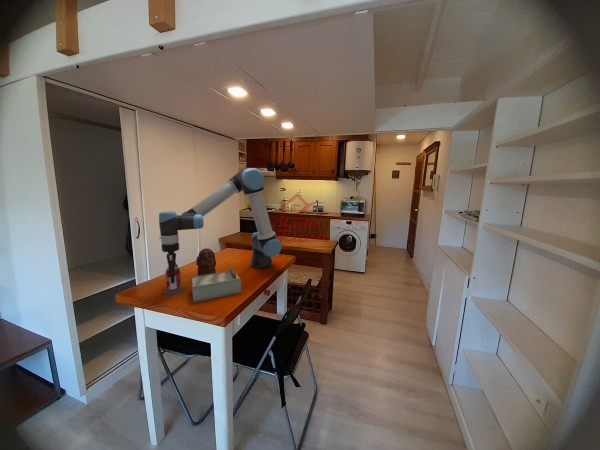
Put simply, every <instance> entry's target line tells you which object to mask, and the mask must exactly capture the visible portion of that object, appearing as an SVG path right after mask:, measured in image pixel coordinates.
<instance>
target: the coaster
mask: <svg viewBox="0 0 600 450" xmlns="http://www.w3.org/2000/svg"><path fill="white" fill-rule="evenodd" d="M184 291H185V287H184V286H182V285H181V288H180V290H178V291H176V292H170V291H168V290H167V288H166V289H165V290H164V295H167V296H173V295H177V294H181V293H182V292H184Z"/></svg>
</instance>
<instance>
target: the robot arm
mask: <svg viewBox="0 0 600 450" xmlns="http://www.w3.org/2000/svg"><path fill="white" fill-rule="evenodd" d="M264 183H265V178H264V175H263V173H262V171H260V170H259V169H257V168H255V167H253V168H252V167H250V168H245V169H240V170H239V171H238V172H237V173H236V174H234V175H233V176H232V177H231V178H229V179H228V180H227V183H225V184H223V186H221V187H220V188H218V189H217V190H215V191H214V192H213V193H211V194H210V195H208V196H206V198H203V199H202V200H201V201H200V202H198V203H196V204H195V205H194V206H193V207H191V208H190V209H188V210H187V211H184V212H182V214H179V215H178V214H177V212H176V211H173V210H172V211H161V212H159V214H158V225H159V232H160V236H159V240H160V241H161V251H162V252H163V253H166V261H167V265H168V267H167V268H169V276H167V277H169V280H170V290H171V289H177V284H176V275H175V266H178V263H176V262H177V261H176V260H177V253H176V252H177V251H179V250H180V238H179V232H178V231H186V230H187V231H188V230H198V229H203V228H204V226H205V225H204V223H205V222H204V217H205V216H206V215H207V214H209V213H210V212H212V211H213V210H214V209H216V208H217V207H218V206H220V205H221V204H222V203H224V202H226V201H227V200H228V199H229V198H230V199H231V198H232V197H233V196H234V195H235V194H239V193H241V192H243V194H244V196H246V197H247V199H248V202H249V206H250V209H251V212H252V216H253V220H254V223H255V227H256V230H257V231H256V232H253V233H252V235H251V245H252V246H251V247H252V255H251V259H250V262H249V264H250V267H251V268H253V269H257V270H259V269H268V268H270V267H272V266H273V259H272V258H275V257H276V256H277V255H279V254H280V252H281V250H282V243H281V241H280V240H279V239H278V238H277V234H276V232H275V231H274V230H273V228H272V224H271V221H270V218H269V213H268V210H267V206H266V202H265V198H264V195H263V193H264V191H265V188H264Z"/></svg>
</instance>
